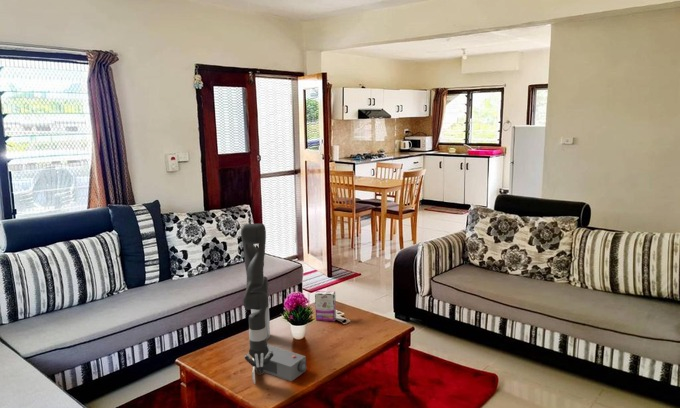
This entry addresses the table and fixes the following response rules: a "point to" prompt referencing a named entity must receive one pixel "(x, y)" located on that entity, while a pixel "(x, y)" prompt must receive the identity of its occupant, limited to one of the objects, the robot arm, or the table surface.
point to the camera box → (284, 364)
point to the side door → (253, 372)
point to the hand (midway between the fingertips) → (260, 373)
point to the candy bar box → (325, 305)
